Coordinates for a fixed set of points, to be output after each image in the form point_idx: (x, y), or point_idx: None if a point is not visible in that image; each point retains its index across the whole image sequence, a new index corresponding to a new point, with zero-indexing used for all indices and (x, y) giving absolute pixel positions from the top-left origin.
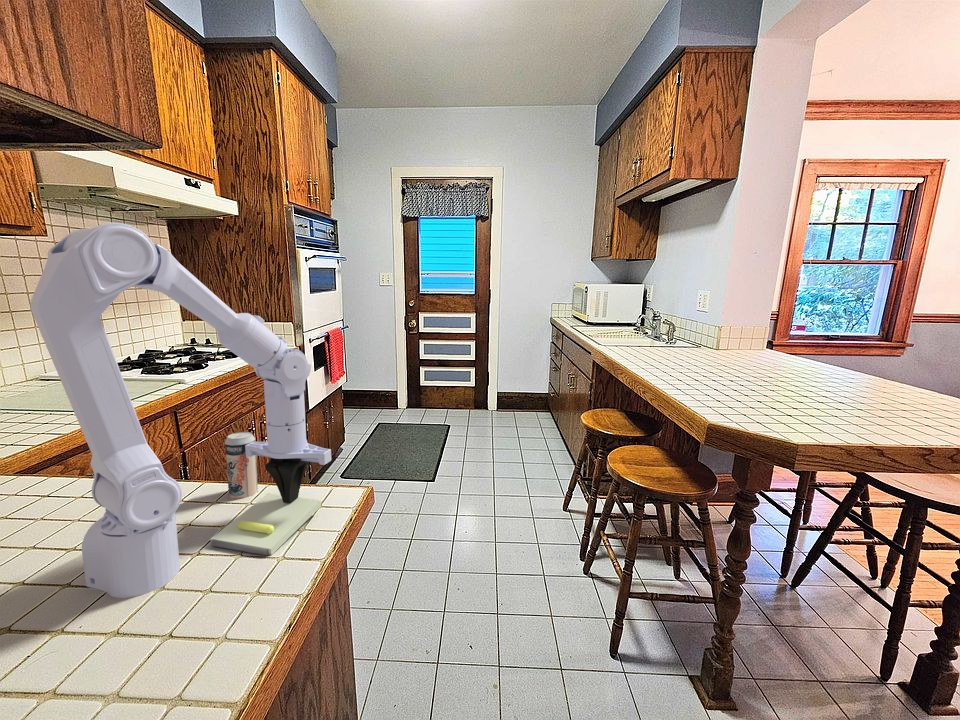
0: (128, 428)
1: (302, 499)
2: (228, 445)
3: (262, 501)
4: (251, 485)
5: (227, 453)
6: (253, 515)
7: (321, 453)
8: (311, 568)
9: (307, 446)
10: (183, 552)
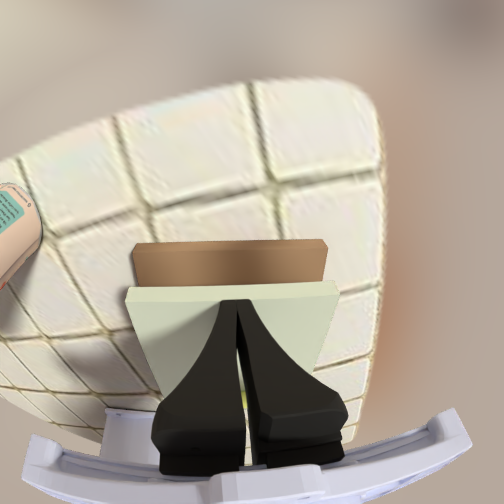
0: None
1: (274, 304)
2: None
3: (149, 333)
4: (18, 247)
5: None
6: (184, 370)
7: (436, 470)
8: (360, 370)
9: (366, 493)
10: (130, 392)
